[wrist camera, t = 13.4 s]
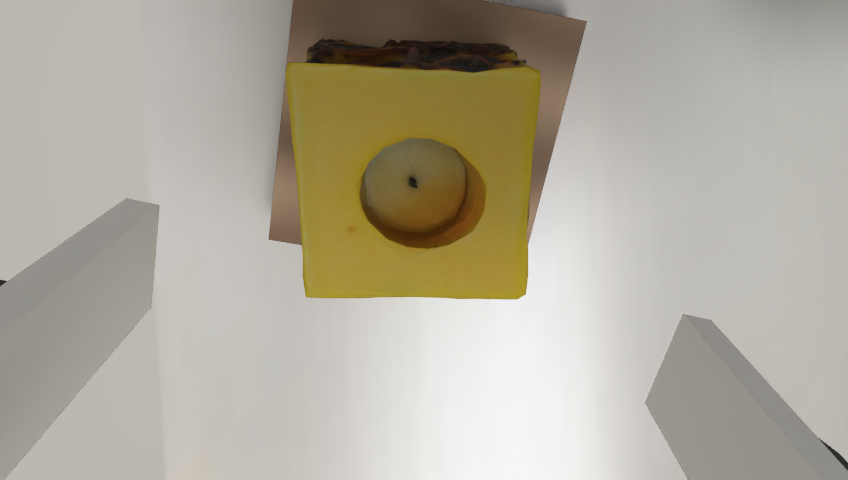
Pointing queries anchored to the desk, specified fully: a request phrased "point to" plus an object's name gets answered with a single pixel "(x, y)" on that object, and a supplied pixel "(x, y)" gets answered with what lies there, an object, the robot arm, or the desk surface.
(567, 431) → the desk surface
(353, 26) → the walnut block
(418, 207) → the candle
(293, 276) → the desk surface
